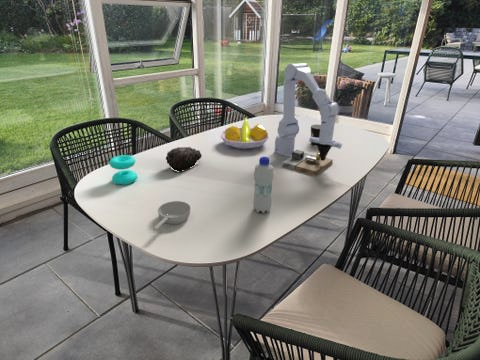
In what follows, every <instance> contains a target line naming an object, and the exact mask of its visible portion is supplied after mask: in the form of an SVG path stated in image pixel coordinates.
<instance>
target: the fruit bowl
mask: <svg viewBox="0 0 480 360" xmlns="http://www.w3.org/2000/svg"><path fill="white" fill-rule="evenodd" d="M220 138H221V139H222V141H223V142H224V143H225V145H226V146H229V147H232V148H236V149H237V150H238V149H239V150H243V149H244V150H245V149H247V150H248V149H255V148H258V147H262V146H263V145H264V144H266V142H267V141H268V140H269V138H270V135H269V132H268V131H267V129H266V128H265V127H264V126H263V125H262V124H256V125H254V127H252V128H251V127H250V125H249V122H248V119H247V117H244V121H243V123H242V126H241V127H237V126H234V125H231V126H229V127H228V128H225V130H223V131H221V133H220Z"/></svg>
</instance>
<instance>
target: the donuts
mask: <svg viewBox="0 0 480 360" xmlns="http://www.w3.org/2000/svg"><path fill="white" fill-rule="evenodd" d="M108 163H109V166H110V167H111V168H112V169H115V170H118V171H117V172H115V173H114V174H113V175H112V176H111V177H112V178H111V180H112V182H113V183H114V184H115V183H116V185H118V184H127V185H130V184H129V183H131V184H133V183H134V181H135V180H136V179H137V180H138V173H137V172H135V171H133V170H131V169H130V168H132V167H133V166H134V165H135V164H136V159H135V157H134V156H132V155H128V154H123V155H122V154H121V155H116V156H113V157H112V158H111V159H110V160H109V162H108ZM129 169H130V170H129ZM137 180H136V181H137ZM136 181H135V182H136ZM132 182H133V183H132Z"/></svg>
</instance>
